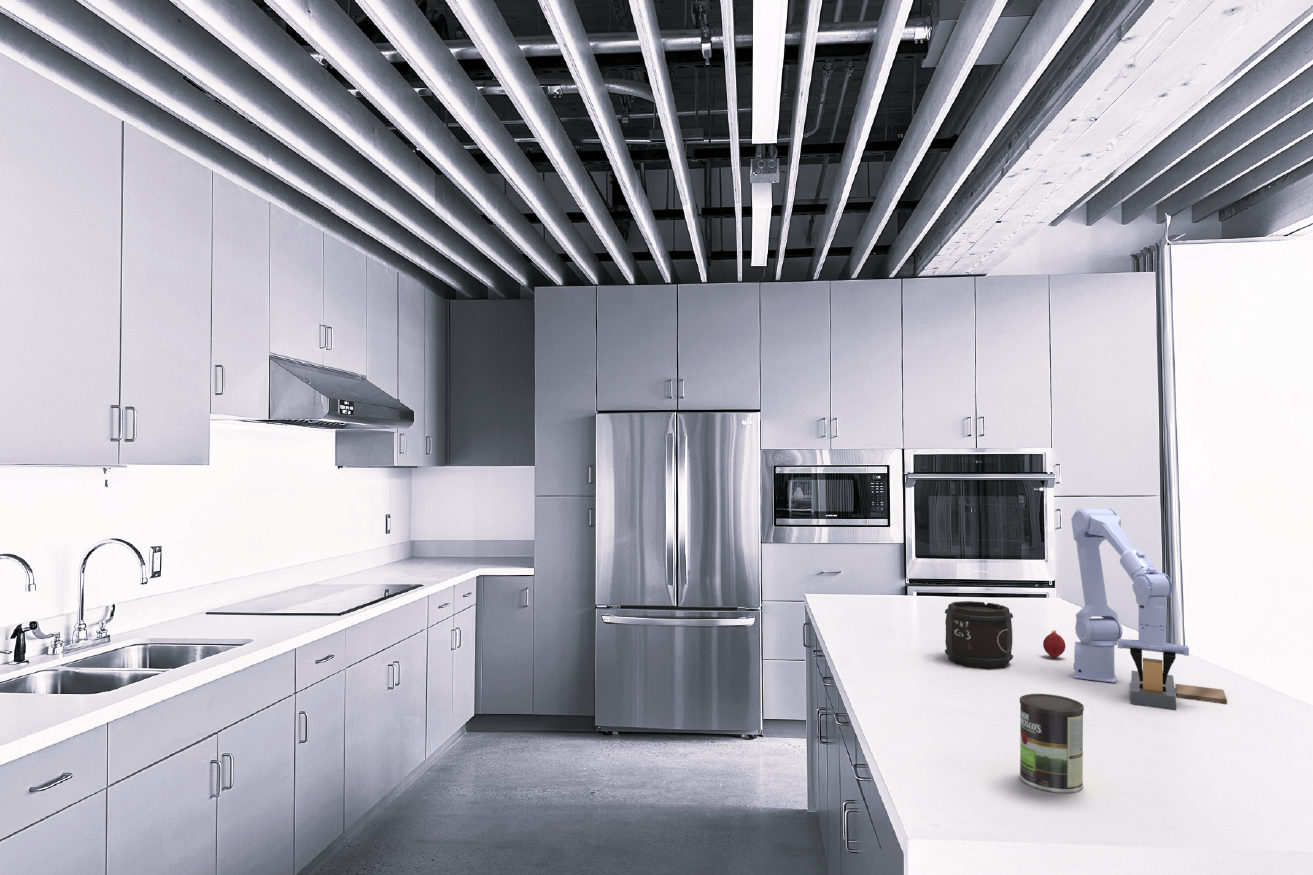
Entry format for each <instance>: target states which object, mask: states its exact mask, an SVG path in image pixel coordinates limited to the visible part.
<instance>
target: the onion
mask: <svg viewBox="0 0 1313 875" xmlns="http://www.w3.org/2000/svg"><path fill="white" fill-rule="evenodd" d="M1042 646H1043V649H1044V651H1045V652H1046V653H1047V655H1048V656H1050V657H1051V658H1052V659H1057V658H1059V657H1060V656H1061V655H1062V654H1064V652H1065V650H1066V648H1067V647H1066V641H1065V639H1064V638H1063V637H1062V636H1061V635H1060V634H1058V633H1057V630H1055V629H1053V630H1052V631H1051V633H1050V634H1048V635H1046V637H1045V638H1044V639H1043V643H1042Z"/></svg>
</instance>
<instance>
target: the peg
mask: <svg viewBox="0 0 1313 875" xmlns="http://www.w3.org/2000/svg"><path fill="white" fill-rule="evenodd" d="M1142 670H1143V689H1146V690H1154V691H1162V692H1163V659H1156V658H1149V657H1148V658H1146V657H1142Z"/></svg>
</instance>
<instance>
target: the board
mask: <svg viewBox="0 0 1313 875" xmlns="http://www.w3.org/2000/svg"><path fill="white" fill-rule="evenodd" d="M1174 687H1175V694H1176V699H1177V698H1179V699H1186V700H1193V699H1196V700H1195V701H1200V700H1202V702H1208V701H1214V702H1213V703H1216V702H1219V703H1218V704H1225V705H1227V704H1228V699H1227V696H1226V693H1225V690H1224V689H1222V688H1214V687H1205V686H1198V685H1197V686H1196V685H1190V684H1189V685H1188V684H1181V683H1174Z"/></svg>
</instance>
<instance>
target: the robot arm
mask: <svg viewBox="0 0 1313 875" xmlns="http://www.w3.org/2000/svg"><path fill="white" fill-rule="evenodd" d="M1070 521H1071V527H1072V533H1073V540H1074V541H1075V544H1076V551H1077V557H1078V563H1079V564H1078V566H1079V572H1080V573H1079V574H1080V579H1081V587H1082V593H1083V594H1082V595H1083V601H1084V602H1083V603H1084V606H1083V607H1082V608H1081V609H1080V610H1079V611H1078V612H1077V613H1076V614H1075V617H1076V620H1075V626H1074V628H1075V630H1074V631H1075V635H1076V638H1078V640H1079V641H1075V642H1074V655H1073V656H1074V662H1073V670H1074V676H1073V677H1074V679H1081V680H1089V681H1096V682H1097V681H1098V682H1104V683H1105V682H1106V683H1112V684H1116V683H1117V674H1115V646H1117V649H1126V650H1127V649H1128V650H1129V654H1130V656H1131V658H1132V660H1133V662H1134V664H1135V667H1136V671H1138V673H1139V679H1140V681H1141V682H1143V651H1145V652H1146V651H1147V652H1156V653H1162V663H1163V684H1165V685H1166V680H1167V676H1168V675H1169V673H1170V671H1171V670H1170V669H1171V668H1172V666H1173V663H1174V662H1175V661H1176V655H1183V656H1187V657H1188V656H1190V648H1189V646H1188V645H1182V644H1175V643H1169V642H1167V598H1170V596H1171V595H1172V593H1173V583H1172V580H1171V579H1170V577H1169V575H1168V574H1166V573H1164V572H1161V571H1160V570H1157V569H1156V568H1155V567H1154V565H1153V564H1152V562H1151V561H1150V560H1149V559H1148V558H1147V556H1146V554H1145V553H1144V552H1143V551H1142V550H1140V549H1135V548H1134V546H1133V545H1132V542H1130V540H1129V538H1128V537H1127V535H1126V533H1125V532H1124V530H1123V529H1122V526H1121V525H1122V519H1121V517H1120V516H1119V514H1118V512H1117V511H1116V509H1114V508H1098V509H1097V508H1094V509H1093V508H1091V509H1090V508H1087V509H1086V508H1078V509H1076V510H1075V512H1074V513H1073V514H1072V517H1071V519H1070ZM1103 541H1107V542H1108V543H1109V544H1110V546H1112V548H1113V549H1114V550H1115V551H1116V553H1117V554H1119V556H1120V559H1119V563H1120V565H1121V567H1122V569H1124V571H1125V572H1126V573H1127V575H1128V577H1129V578H1130V579H1131V580H1132V582H1133V583H1132V590H1133V592H1134V595H1135V602H1136V604H1137V605H1138V639H1126V638H1125V639H1124V638H1123V639H1122V636H1123V626H1122V625H1121V623H1120V621H1119V618H1118V613H1117V612H1116V611H1115V610H1114V609H1112V607H1110V606H1109V605H1108V601H1107V600H1108V599H1107V593H1106V592H1107V591H1106V588H1105V587H1106V585H1105V580H1104V573H1103V566H1102V564H1103V563H1102V559H1101V552H1100V546H1101V544H1102V542H1103ZM1092 617H1093V618H1092ZM1095 617H1096V618H1095ZM1097 617H1099V618H1097Z"/></svg>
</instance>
